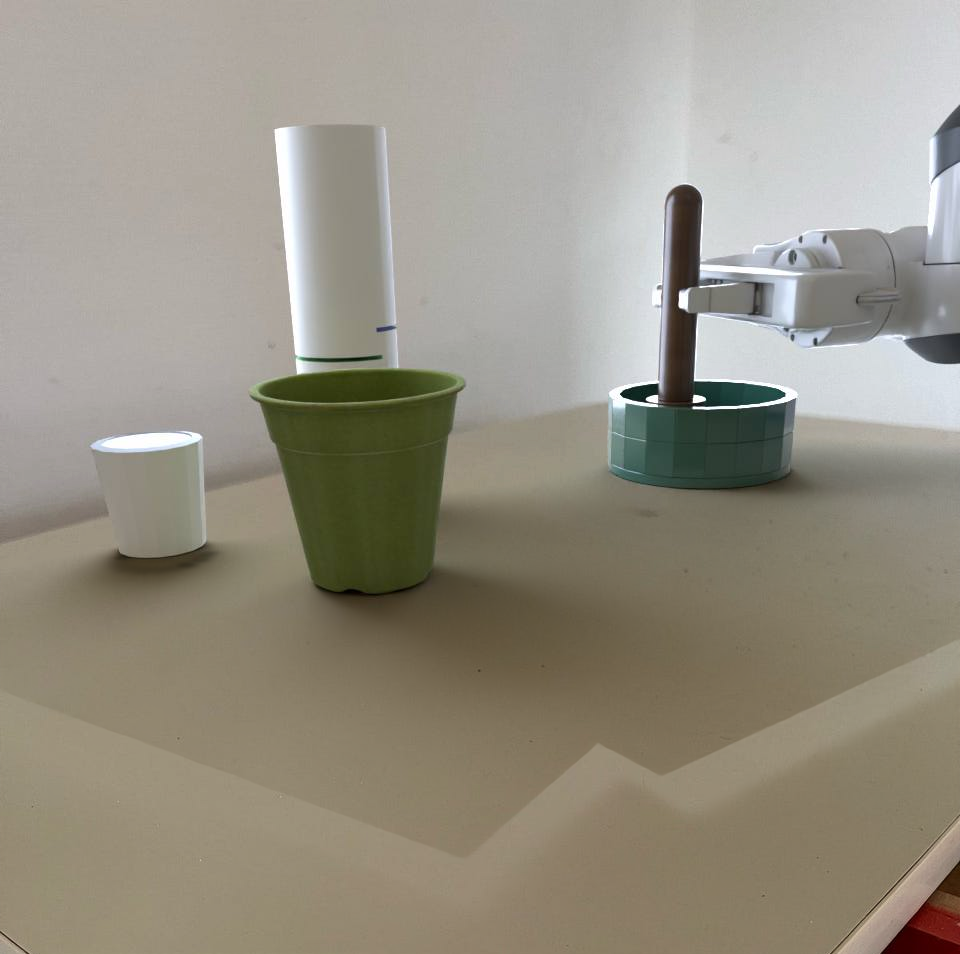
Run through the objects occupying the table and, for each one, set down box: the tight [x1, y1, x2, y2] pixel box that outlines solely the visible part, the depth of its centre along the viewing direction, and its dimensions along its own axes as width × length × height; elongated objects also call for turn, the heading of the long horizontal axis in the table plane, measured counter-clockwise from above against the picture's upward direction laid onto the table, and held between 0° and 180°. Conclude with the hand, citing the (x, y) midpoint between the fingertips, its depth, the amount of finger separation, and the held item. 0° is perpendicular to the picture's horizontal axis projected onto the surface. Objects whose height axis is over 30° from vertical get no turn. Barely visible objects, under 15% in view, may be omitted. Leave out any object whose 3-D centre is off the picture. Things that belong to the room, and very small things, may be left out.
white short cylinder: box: [90, 430, 207, 559], centre depth 67 cm, size 7×7×7 cm
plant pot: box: [248, 367, 467, 595], centre depth 58 cm, size 12×12×11 cm
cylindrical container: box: [274, 123, 400, 374], centre depth 71 cm, size 7×7×25 cm
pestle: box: [646, 183, 706, 407], centre depth 78 cm, size 5×5×17 cm
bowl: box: [606, 379, 798, 490], centre depth 83 cm, size 15×15×6 cm
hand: (669, 298), depth 77 cm, fingers closed on pestle, 3 cm apart
